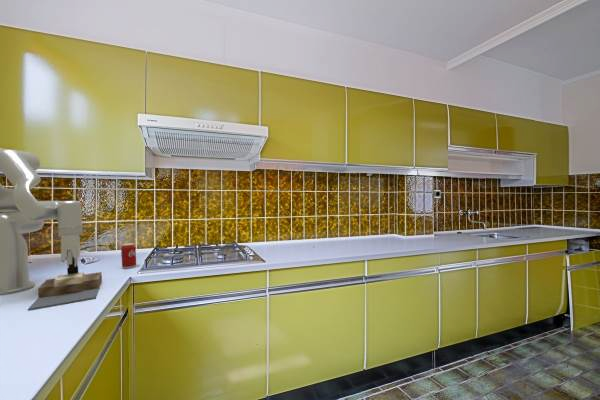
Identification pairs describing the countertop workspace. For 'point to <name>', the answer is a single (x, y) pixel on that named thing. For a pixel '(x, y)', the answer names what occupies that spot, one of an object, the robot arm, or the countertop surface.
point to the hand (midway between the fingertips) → (73, 276)
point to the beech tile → (69, 279)
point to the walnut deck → (70, 286)
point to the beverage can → (128, 255)
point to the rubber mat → (64, 299)
